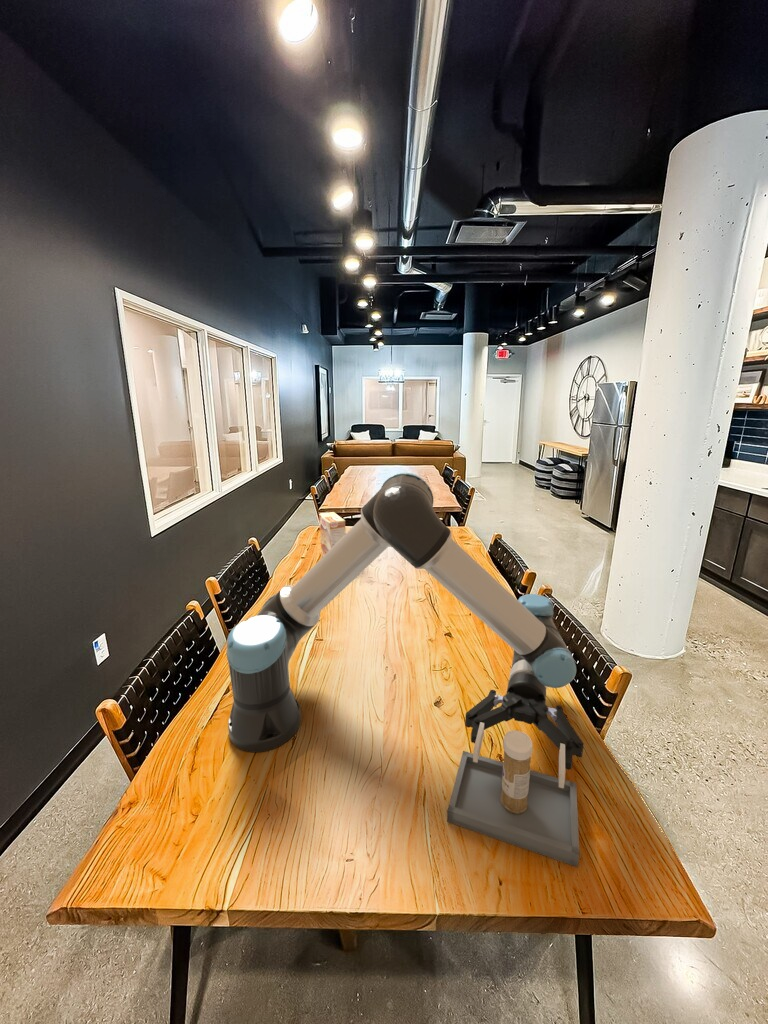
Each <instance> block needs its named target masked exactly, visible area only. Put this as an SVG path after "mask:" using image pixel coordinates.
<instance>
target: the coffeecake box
mask: <svg viewBox="0 0 768 1024" xmlns="http://www.w3.org/2000/svg"><path fill="white" fill-rule="evenodd" d="M318 519H319V521H318V522H319V533H320V534H319V536H320V537H319V538H320V551H321V555H322V556H321V558H322V557H323V556H324V555H325V554H326V553H327V552H328V551H329V550H330V549H331V548H332V547H333V546H334V545H335V544H336V543H337V542H338V541H339V540H340V539H341V538H342V537H343V536H344V535H345V534H346V533H347V531H346V520H345V519H344V518H342V516H340V515H338V514H337V513H336V512H335V511H332V512H331V511H330V512H321V513H318Z"/></svg>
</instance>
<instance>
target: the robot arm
mask: <svg viewBox="0 0 768 1024" xmlns="http://www.w3.org/2000/svg"><path fill="white" fill-rule="evenodd" d="M452 535H453V532H452V530H451V529H450V528H449V527H447V526H446V524H444V523H443V521H442V520H441V519H440V517H439V516H438V515H437V513H436V512H435V510H434V495H433V491H432V489H431V487H430V486H429V484H428V483H427V482H426V481H425V480H424V479H423V478H422V477H421V476H419V475H417V474H416V473H415V474H414V473H412V472H400V473H396V474H394V475H392V476H390V477H388V478H387V479H386V480H385V481H384V482H383V483H382V485H381V487H380V489H379V490H378V491H377V492H376V493H375V494H374V495H373V496H372V497H371V499H369V500H368V501H367V502H366V503H365V504H364V505H363V506H362V508H360V519H359V520H358V521H357V522H356V523H355V524H354V525H353V526H352V527H351V528H350V529H349V530H348V531H346V534H345V535H344V536H343V537H342V538H341V539H340V540H339V541H338V542H337V543H336V544H335V545H334V546H333V547H332V548H331V549H330V550H329V551H328V552H327V553H326V554H325V555H324V556H323V557H322V556H321V558H320V559H319V560H318V561H317V562H316V563H315V564H314V565H313V566H312V567H311V568H310V569H309V570H308V571H307V572H306V573H305V574H304V575H303V576H302V577H301V578H299V580H298V581H297V582H296V583H295V584H294V585H292V584H288V585H284V586H283V587H282V588H281V589H280V590H278V592H277V593H275V594H273V595H272V596H271V597H269V598H268V599H267V600H266V601H265V602H264V604H263V605H262V607H261V608H260V610H259V612H258V613H257V614H256V615H254V616H250V617H248V618H246V621H245V620H242V621H240V622H239V623H237V624H236V625H235V626H234V627H233V628H232V629H231V630H230V632H229V634H228V636H227V640H226V658H227V659H226V660H227V662H228V670H229V676H230V684H231V689H232V690H231V691H232V697H233V701H232V706H231V709H230V715H229V719H228V722H227V723H228V724H227V725H228V726H227V728H228V729H227V730H228V734H229V735H228V736H229V739H230V742H231V743H232V744H233V745H234V746H235V747H236V748H238V749H239V750H242V751H245V752H251V753H262V752H267V751H270V750H273V749H275V748H276V749H277V748H278V747H280V746H282V745H284V744H286V743H287V742H288V741H290V739H292V738H293V737H294V736H295V734H296V733H297V732H298V730H299V728H300V726H301V723H302V722H301V721H302V714H301V707H300V704H299V702H298V701H297V699H296V698H295V695H294V693H293V690H292V689H291V684H290V683H291V682H290V672H289V665H290V660H291V658H292V657H293V654H294V652H295V650H296V648H297V647H298V644H299V642H300V641H301V640H302V639H303V637H304V636H305V635H306V634H307V633H308V632H310V631H311V630H312V629H313V628H314V627H315V626H317V624H319V621H320V617H321V613H320V612H321V611H323V609H325V607H327V606H328V605H329V604H330V603H331V602H332V601H333V600H334V599H335V598H336V597H337V596H338V595H340V593H342V591H344V589H346V588H347V586H349V584H351V583H352V582H353V581H354V580H355V579H356V578H357V577H358V576H360V574H361V573H362V572H364V571H365V570H366V568H368V566H370V565H371V564H372V563H373V562H374V561H375V560H376V559H377V558H378V557H379V556H380V555H381V554H383V553H384V551H385V550H387V548H393V550H394V551H396V552H397V553H398V554H399V555H400V556H401V557H403V559H405V561H407V562H408V563H409V564H410V565H411V566H413V568H414V569H416V570H425V571H426V572H427V573H429V575H430V576H432V578H433V579H435V580H436V581H437V582H438V583H439V584H440V585H442V586H443V588H445V589H446V590H447V591H448V592H449V593H451V594H452V595H453V596H454V597H455V598H456V599H457V600H458V601H459V602H460V603H462V605H464V606H465V608H467V609H468V610H469V611H470V612H472V614H474V616H476V617H477V618H478V619H479V620H481V622H482V623H484V624H485V625H486V626H487V627H488V628H489V629H491V631H492V632H493V633H495V634H496V635H497V636H498V637H499V638H500V639H501V640H502V641H504V643H506V644H507V645H508V646H509V648H511V649H512V650H513V655H512V656H513V657H512V664H511V667H510V673H509V677H508V678H509V679H508V683H507V689H506V690H507V691H506V694H504V696H502V695H500V694H497V691H496V690H495V689H491V690H489V692H488V695H486V697H484V698H483V699H482V700H480V701H478V703H477V704H476V705H473V707H471V708H470V709H469V710H468V711H467V712H465V717H464V718H465V720H464V722H465V723H464V724H465V727H466V728H471V733H470V742H471V743H472V744H474V746H473V753H472V754H473V762H476V763H477V762H478V758H479V756H480V753H481V749H482V745H483V739H484V736H485V730H487V729H489V728H491V727H493V726H496V725H497V724H500V723H502V722H508V721H511V720H513V719H514V721H516V722H523V723H526V724H527V725H534V726H535V727H536V728H537V729H538V730H539V731H542V733H543V734H544V735H545V736H546V737H547V738H548V739H549V740H550V741H551V742H552V743H553V744H554V745H555V747H556V748H557V749H558V750H559V752H558V778H559V787H560V788H564V782H565V780H566V771H567V770H568V771H571V770H572V768H573V767H572V766H573V756H576V757H577V758H583V752H584V742H583V741H582V739H581V738H580V736H579V734H578V733H577V731H576V730H575V729H574V727H573V726H572V724H571V722H570V721H569V719H568V718H567V716H566V715H565V712H564V708H563V706H562V705H556V706H555V708H554V707H548V705H547V704H546V702H547V701H546V699H547V688H552V689H558V688H559V689H560V688H563V687H565V686H567V685H568V684H570V683H572V681H573V680H574V679H575V676H576V674H577V665H576V662H575V660H574V656H573V654H572V652H571V651H570V650H569V648H568V647H567V645H566V643H565V641H564V639H563V638H562V636H561V633H560V632H559V629H557V626H556V624H555V623H554V620H553V619H554V618H553V617H554V603H553V602H552V600H551V599H549V598H548V597H546V596H544V595H541V594H537V593H529V594H528V593H527V594H523V595H522V596H519V598H518V599H517V598H516V597H515V596H514V595H513V594H512V593H511V592H509V591H508V590H507V588H505V587H504V586H503V585H502V584H501V583H500V582H499V581H498V580H496V578H494V577H493V575H492V574H491V573H489V571H487V570H486V569H485V568H484V567H483V566H482V565H480V563H478V562H477V560H475V559H474V558H473V557H472V556H471V555H470V554H469V553H468V552H467V551H465V550H464V549H463V547H461V546H460V545H459V544H458V543H457V542H456V541H455V540H454V539H453V536H452ZM452 539H453V540H452ZM499 704H501V705H499ZM498 705H499V706H498ZM497 706H498V707H497ZM548 716H550V717H551V719H552V720H551V719H550V718H549V717H548Z"/></svg>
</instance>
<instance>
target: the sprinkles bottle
mask: <svg viewBox="0 0 768 1024" xmlns="http://www.w3.org/2000/svg"><path fill="white" fill-rule="evenodd" d="M503 736H504V737H503V742H502V743H503V744H502V747H503V761H502V762H503V774H502V793H501V797H500V798H501V803H502V805H503V806H504V808H505V809H506V810H508V811H509V812H511V813H516V814H519V813H523V812H524V811H525V810H526V809H527V806H528V802H527V796H528V790H529V778H530V770H531V759H532V755H533V747H534V745H533V740H532V739H531V737H530V736H529V735H528V734H527V733H526V732H523V731H522V730H516V729H515V730H514V729H513V730H508V731H507V732H506V733H505V734H504V735H503Z"/></svg>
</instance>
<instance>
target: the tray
mask: <svg viewBox="0 0 768 1024" xmlns="http://www.w3.org/2000/svg"><path fill="white" fill-rule="evenodd" d="M503 762H504V761H500V760H496V759H493V758H490V757H487V756H483V755H479V758H478V762H477V763H476V762H473V753H471V752H469V751H466V750H463V751H462V754H461V757H460V762H459V765H458V769H457V773H456V777H455V780H454V784H453V789H452V791H451V795H450V799H449V803H448V807H447V814H446V816H447V818H446V822H447V823H448V824H449V823H450V824H452V825H455V826H458V827H461V828H464V829H466V830H470V831H472V832H475V833H477V834H481V835H484V836H486V837H489V838H493V839H495V840H499V841H501V842H504V843H506V844H509V845H512V846H515V847H518V848H521V849H524V850H527V851H529V852H533V853H535V854H539V855H540V856H544V857H547V858H550V859H552V860H555V861H558V862H561V863H563V864H567V865H570V866H573V867H575V868H578V867H579V860H580V838H579V817H578V796H577V795H578V790H577V782H574V781H570V780H567V779H565V782H564V788H560V787H559V777H556V776H553V775H550V774H549V775H548V774H545V773H542V772H539V771H535V770H531V769H530V778H529V790H528V796H527V802H528V806H527V809H526V810H525V811H524V812H523V813H519V814H516V813H511V812H509V811H508V810H506V809H505V808H504V806H503V805H502V803H501V798H500V797H501V793H502V774H503Z"/></svg>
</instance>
